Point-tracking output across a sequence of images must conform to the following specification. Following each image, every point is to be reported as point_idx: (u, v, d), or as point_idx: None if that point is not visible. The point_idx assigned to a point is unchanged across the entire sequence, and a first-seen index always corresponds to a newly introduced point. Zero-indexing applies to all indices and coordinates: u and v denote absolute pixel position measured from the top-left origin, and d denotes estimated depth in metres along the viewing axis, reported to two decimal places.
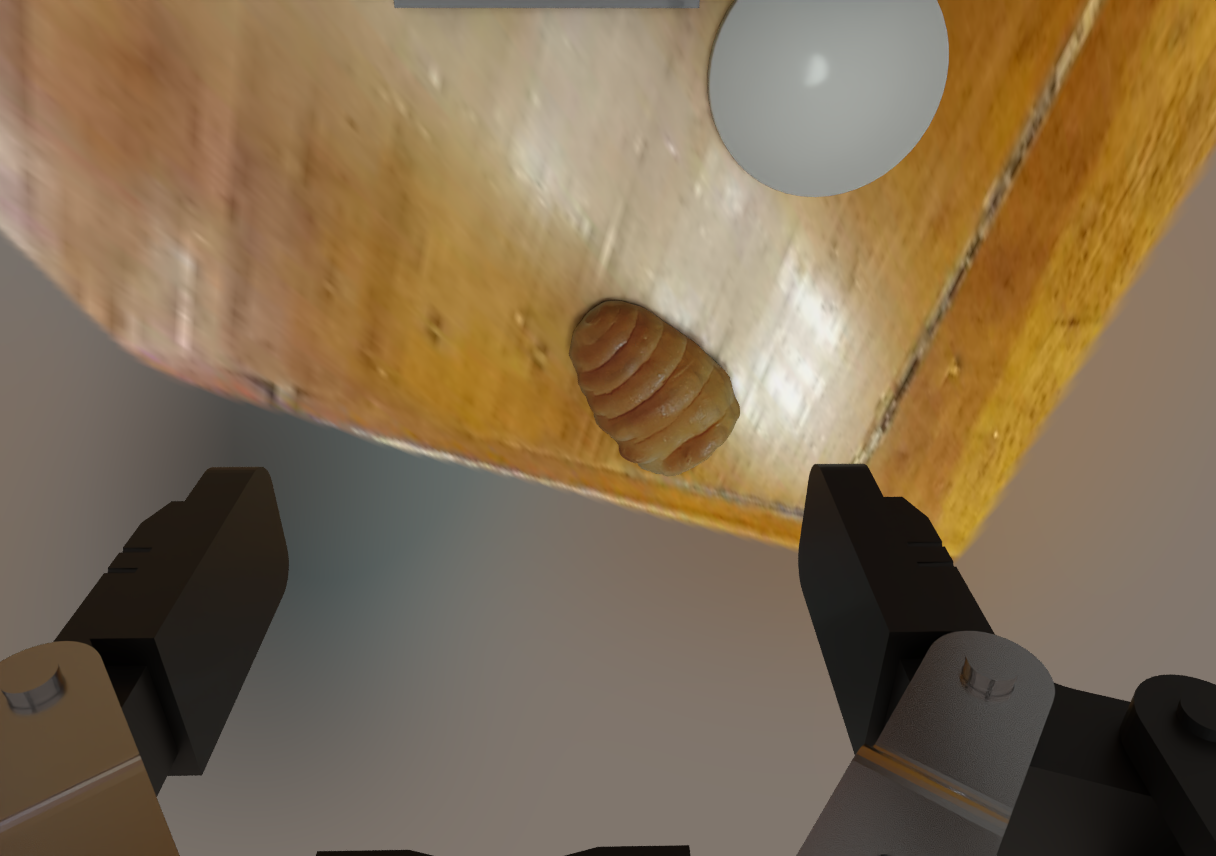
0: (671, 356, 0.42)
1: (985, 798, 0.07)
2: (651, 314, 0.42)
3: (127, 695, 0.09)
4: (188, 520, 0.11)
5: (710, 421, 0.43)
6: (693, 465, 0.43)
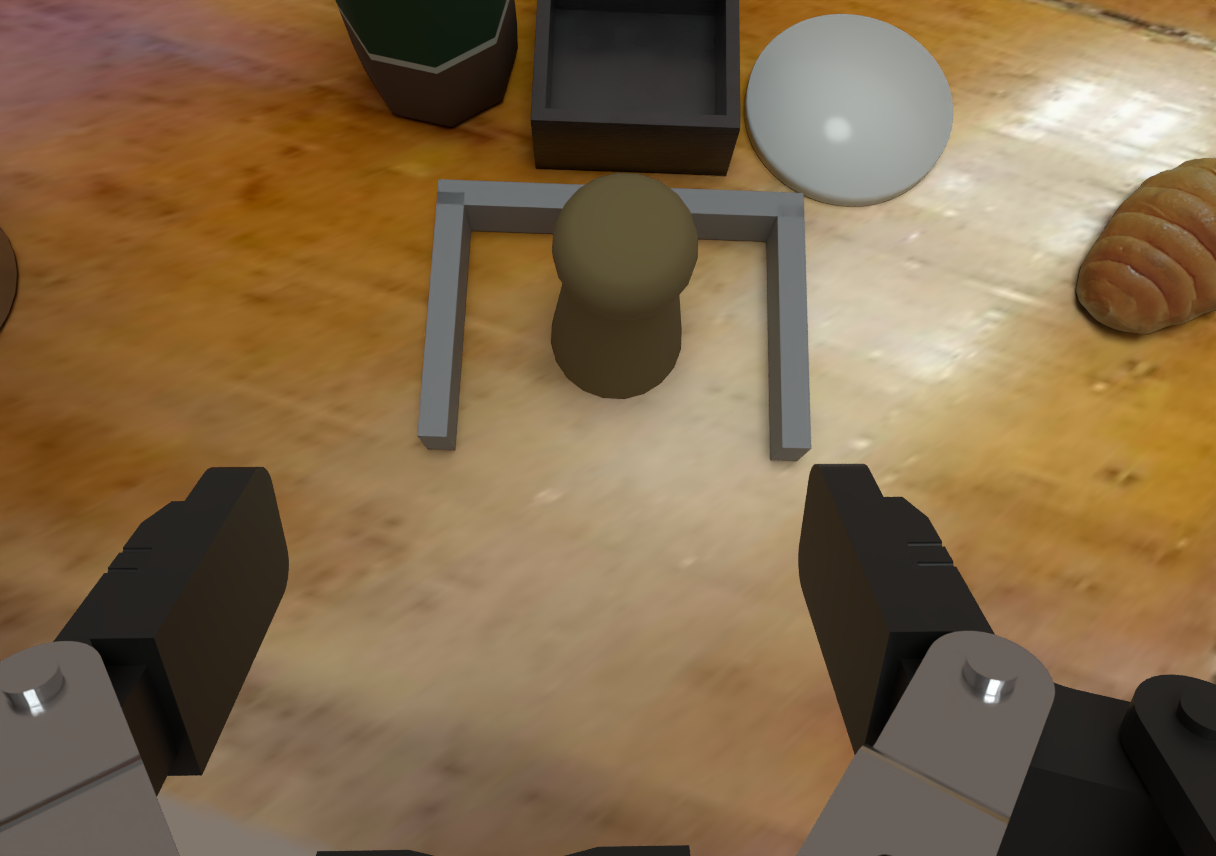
0: (1139, 221, 0.40)
1: (985, 798, 0.07)
2: (1089, 254, 0.41)
3: (127, 695, 0.09)
4: (188, 520, 0.11)
5: (1212, 177, 0.40)
6: None
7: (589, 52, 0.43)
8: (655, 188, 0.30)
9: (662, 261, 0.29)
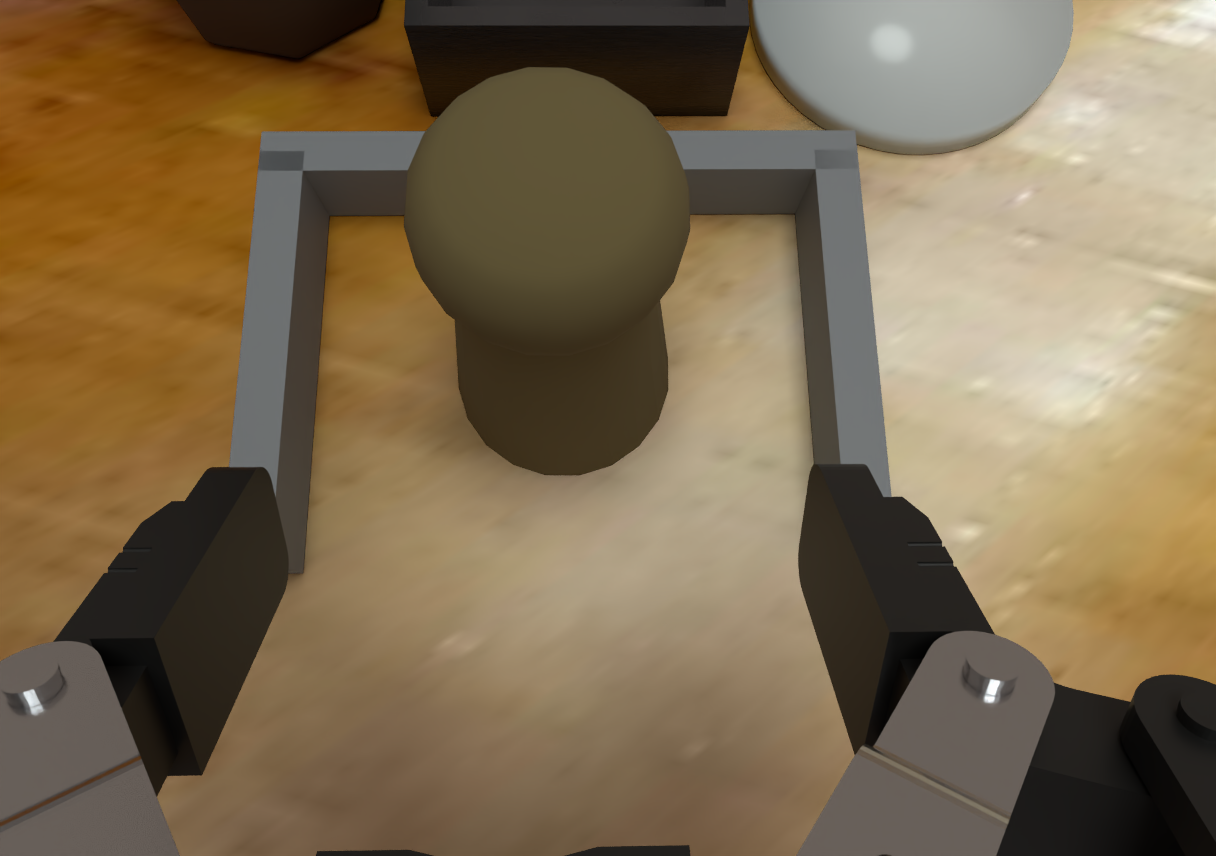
0: None
1: (985, 798, 0.07)
2: None
3: (127, 695, 0.09)
4: (188, 520, 0.11)
5: None
6: None
7: None
8: (600, 93, 0.15)
9: (619, 236, 0.14)
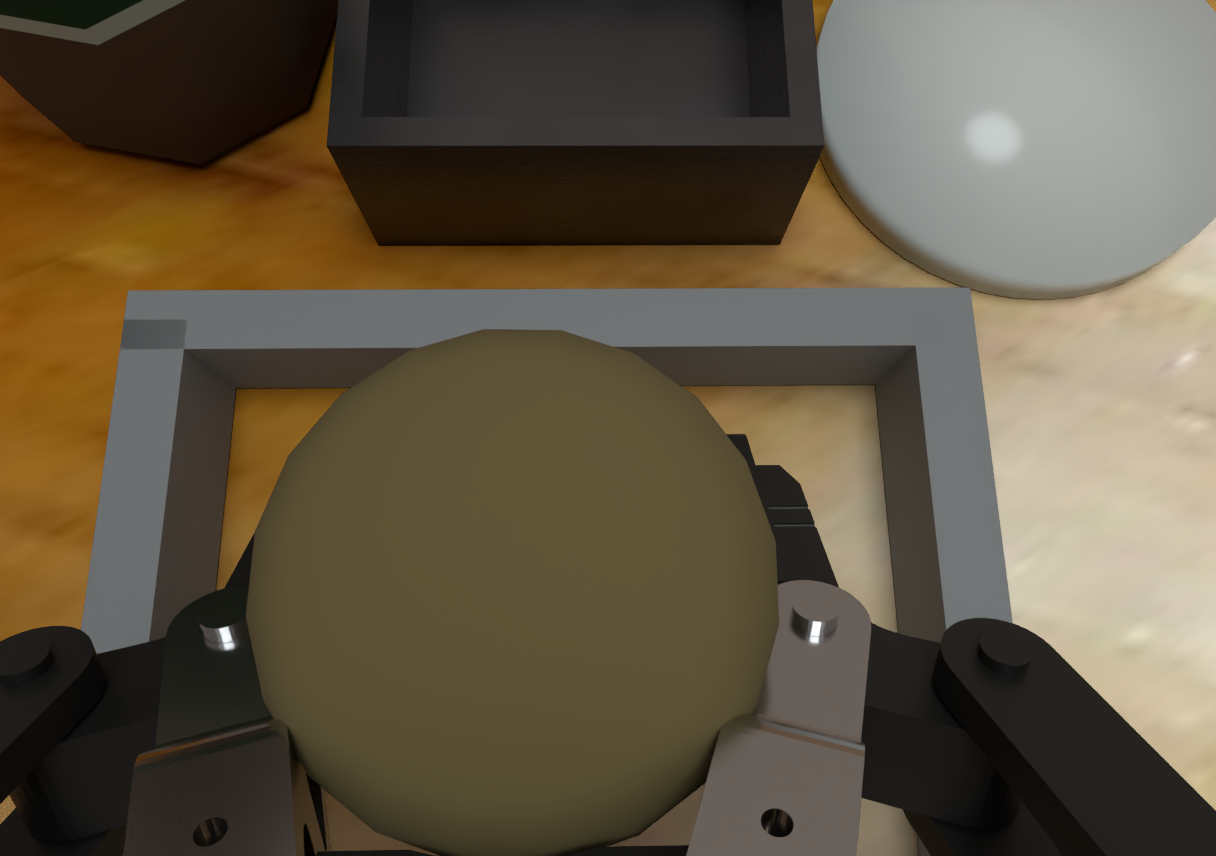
0: None
1: (784, 722, 0.08)
2: None
3: None
4: None
5: None
6: None
7: (486, 1, 0.21)
8: (616, 401, 0.08)
9: (654, 717, 0.07)
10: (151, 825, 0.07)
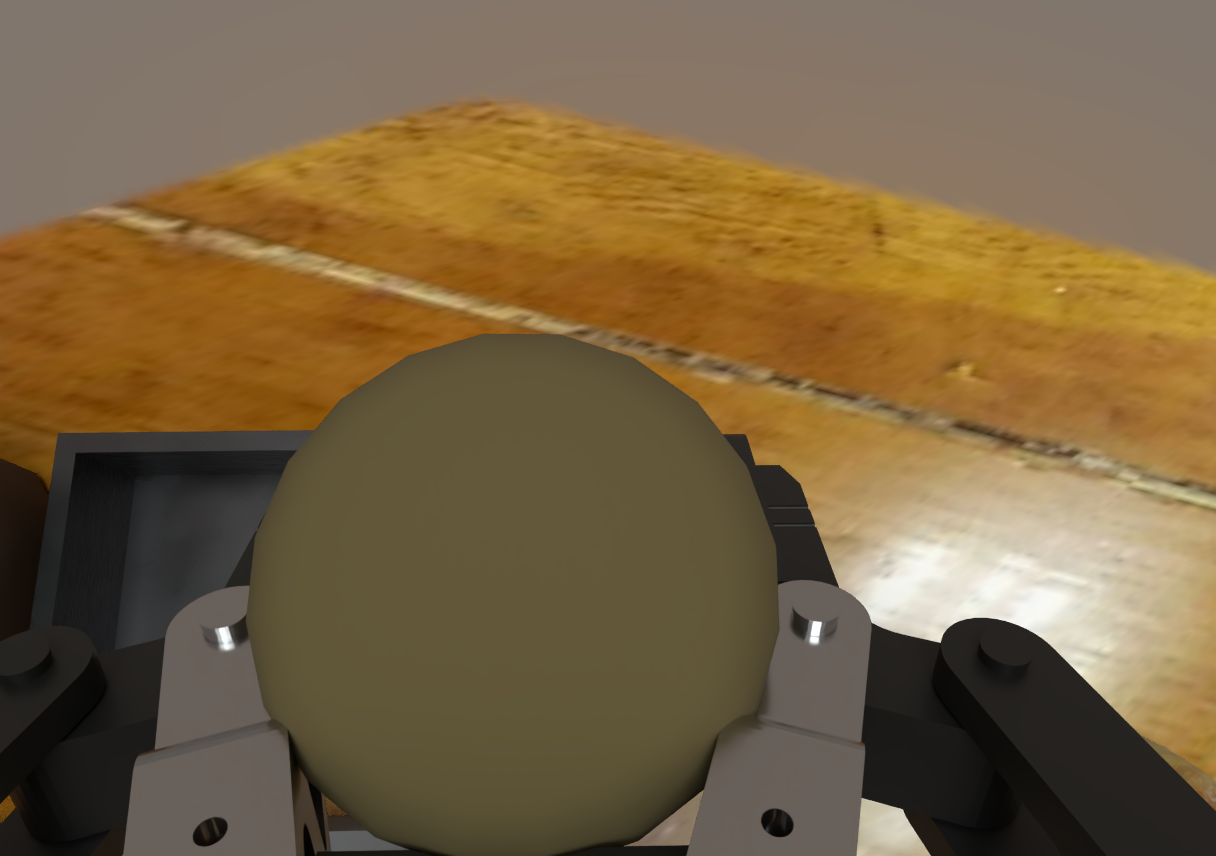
0: None
1: (784, 722, 0.08)
2: None
3: None
4: None
5: None
6: None
7: (181, 547, 0.29)
8: (616, 406, 0.08)
9: (654, 725, 0.07)
10: (151, 825, 0.07)
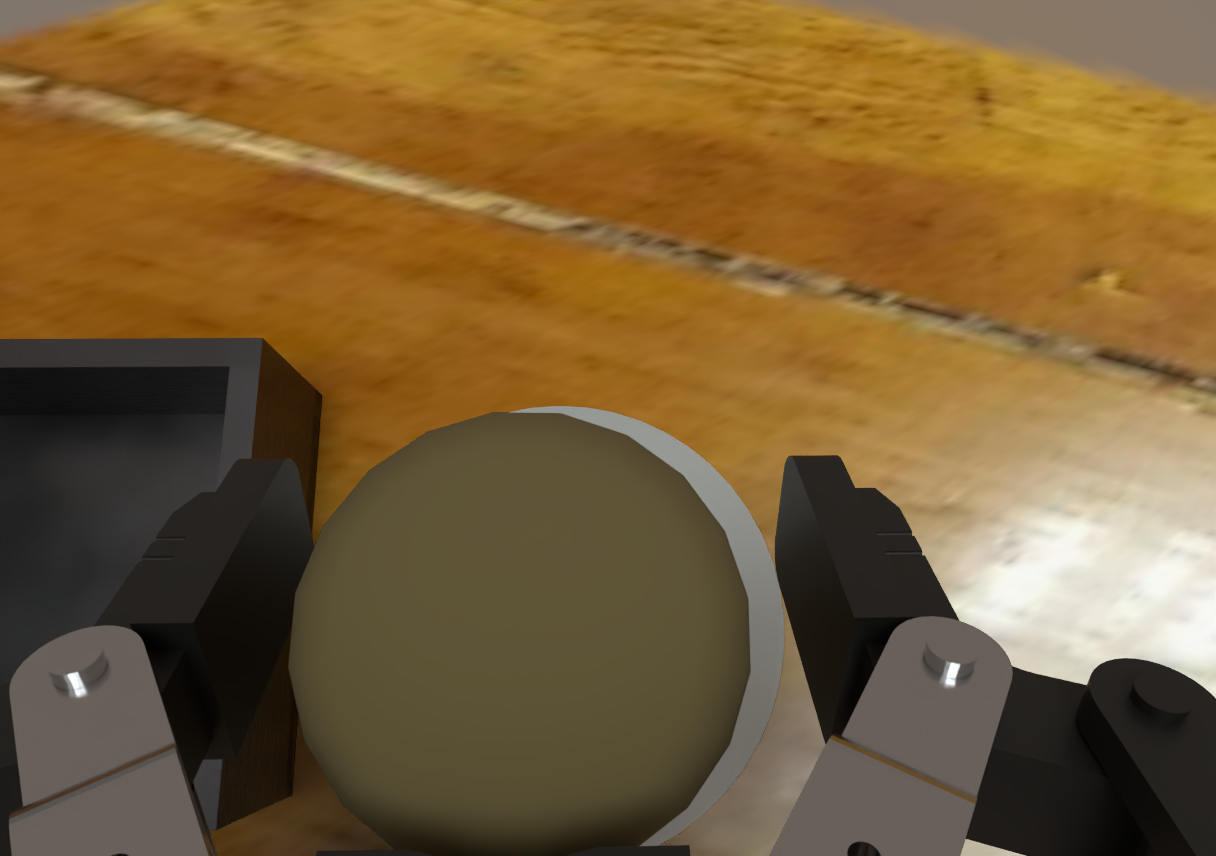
0: None
1: (938, 776, 0.08)
2: None
3: (167, 678, 0.09)
4: (220, 510, 0.11)
5: None
6: None
7: (9, 516, 0.20)
8: (608, 484, 0.09)
9: (640, 761, 0.08)
10: None
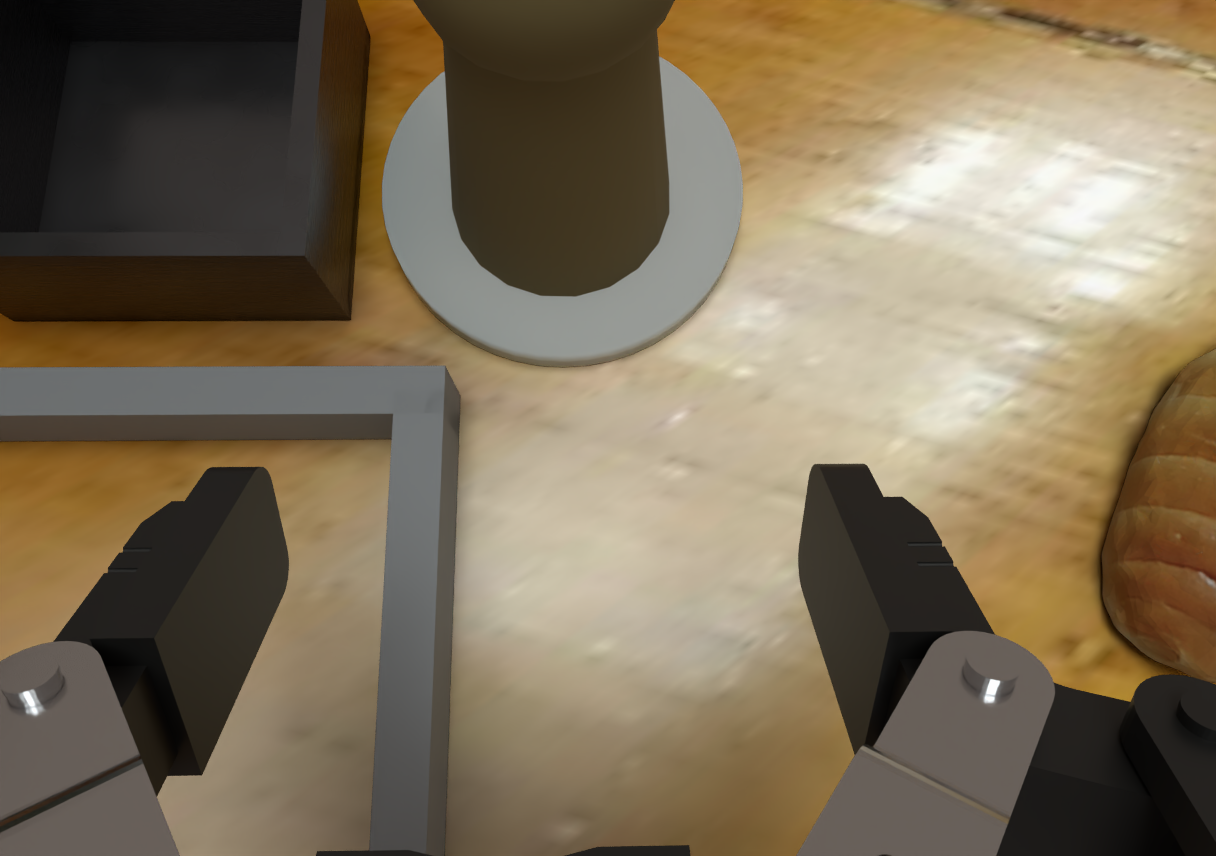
0: (1199, 476, 0.21)
1: (985, 798, 0.07)
2: (1114, 534, 0.22)
3: (127, 695, 0.09)
4: (188, 520, 0.11)
5: None
6: None
7: (121, 113, 0.25)
8: None
9: None
10: None
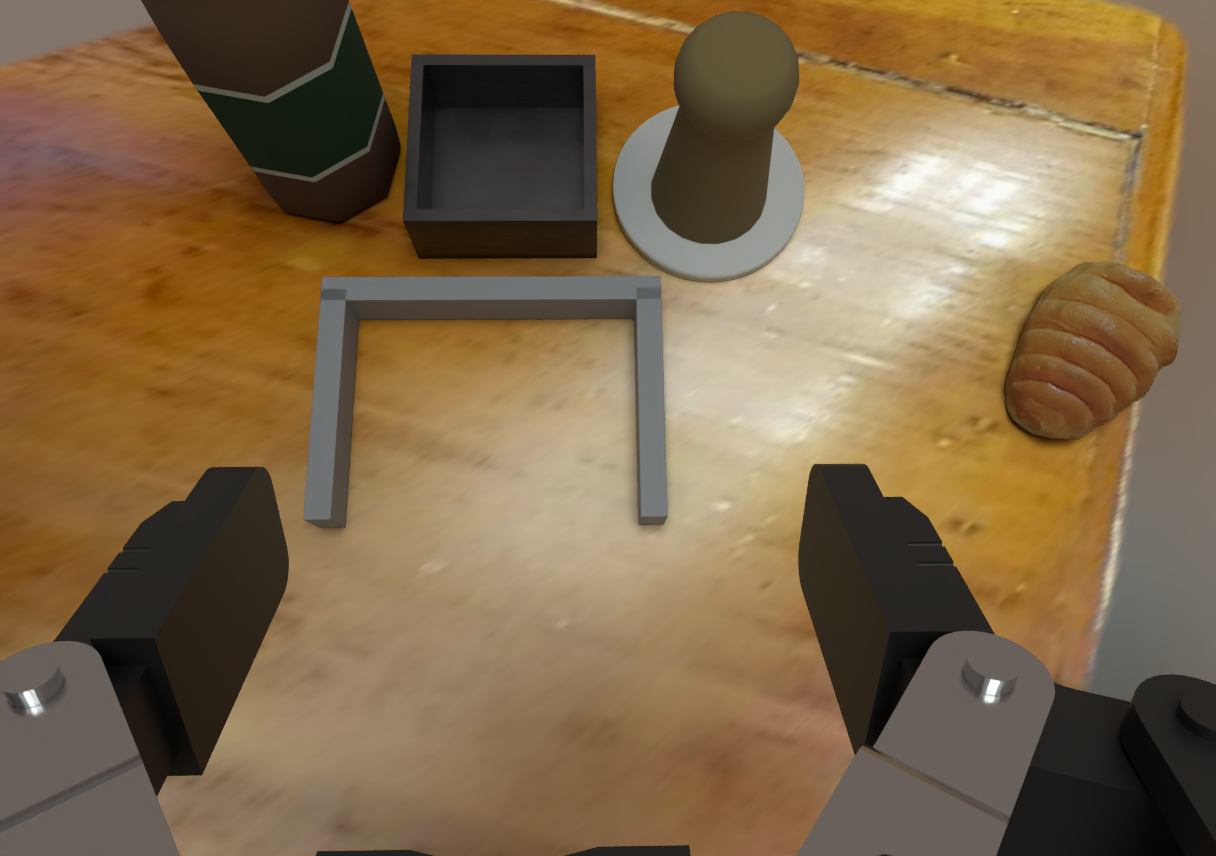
0: (1049, 337, 0.42)
1: (985, 798, 0.07)
2: (1010, 371, 0.43)
3: (127, 695, 0.09)
4: (188, 520, 0.11)
5: (1104, 283, 0.42)
6: (1159, 284, 0.42)
7: (467, 147, 0.46)
8: (764, 22, 0.35)
9: (774, 79, 0.35)
10: None
